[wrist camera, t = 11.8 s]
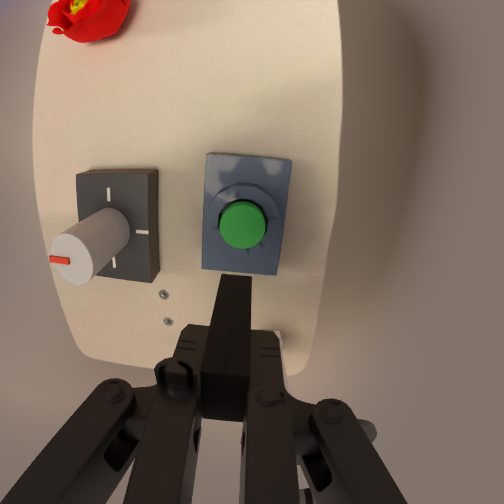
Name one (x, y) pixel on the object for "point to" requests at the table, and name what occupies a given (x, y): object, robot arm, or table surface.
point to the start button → (242, 225)
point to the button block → (251, 190)
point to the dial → (89, 245)
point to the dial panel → (136, 212)
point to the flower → (87, 18)
